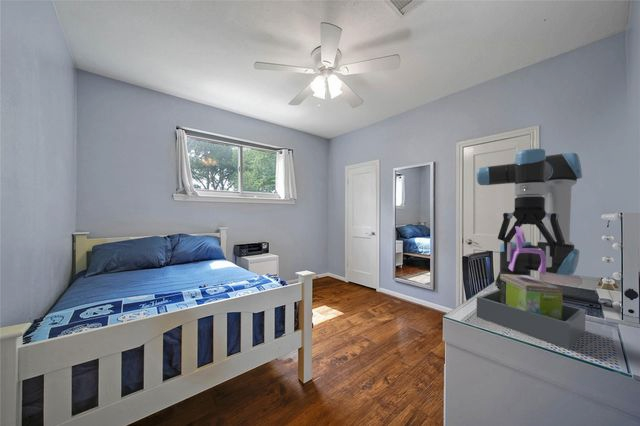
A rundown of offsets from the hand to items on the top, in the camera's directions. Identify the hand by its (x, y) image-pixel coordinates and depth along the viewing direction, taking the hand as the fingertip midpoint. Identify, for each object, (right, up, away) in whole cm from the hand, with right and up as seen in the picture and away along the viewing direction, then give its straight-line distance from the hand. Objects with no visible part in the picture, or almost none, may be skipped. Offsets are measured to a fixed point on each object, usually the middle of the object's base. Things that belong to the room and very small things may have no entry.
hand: (528, 263), depth 78 cm
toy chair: (0, -3, 0) cm, 3 cm away
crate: (0, -20, 0) cm, 20 cm away
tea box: (0, -20, 0) cm, 20 cm away
